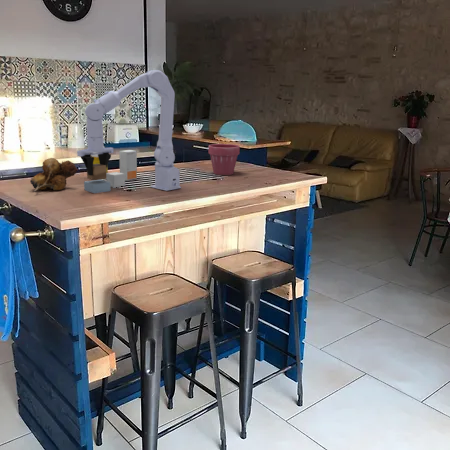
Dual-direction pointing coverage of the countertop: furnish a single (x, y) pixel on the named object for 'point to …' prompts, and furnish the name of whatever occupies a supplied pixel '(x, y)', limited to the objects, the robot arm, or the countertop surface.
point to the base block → (97, 186)
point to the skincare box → (128, 164)
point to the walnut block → (98, 172)
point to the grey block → (116, 179)
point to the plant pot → (223, 158)
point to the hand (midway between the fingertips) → (96, 174)
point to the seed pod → (53, 174)
